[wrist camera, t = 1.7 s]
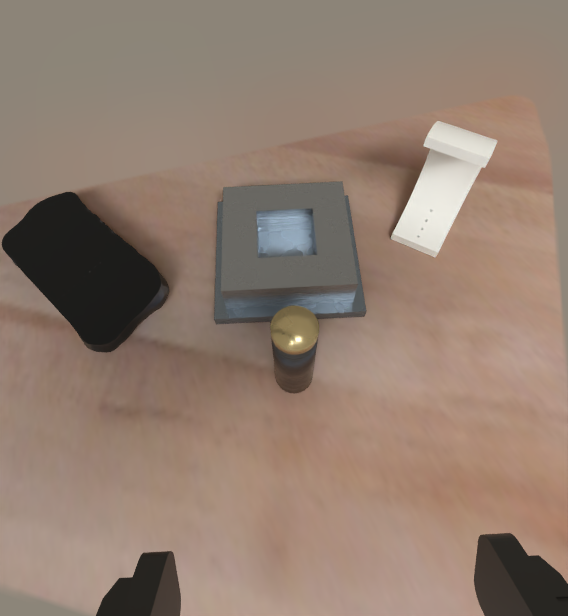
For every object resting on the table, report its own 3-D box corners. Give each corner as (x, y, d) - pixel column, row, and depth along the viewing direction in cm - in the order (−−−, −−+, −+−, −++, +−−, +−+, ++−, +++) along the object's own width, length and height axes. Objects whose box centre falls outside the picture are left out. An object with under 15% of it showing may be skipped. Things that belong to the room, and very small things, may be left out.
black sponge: (184, 302, 38) (174, 281, 34) (107, 367, 35) (88, 351, 32) (82, 208, 43) (65, 182, 40) (9, 258, 40) (-16, 235, 37)
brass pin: (276, 394, 33) (271, 351, 25) (274, 358, 35) (269, 306, 26) (313, 392, 33) (321, 348, 25) (310, 357, 35) (316, 304, 26)
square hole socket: (216, 324, 36) (208, 302, 33) (219, 208, 42) (212, 179, 39) (364, 316, 36) (372, 294, 33) (346, 202, 42) (351, 172, 39)
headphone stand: (390, 239, 40) (425, 136, 29) (413, 197, 42) (453, 88, 32) (435, 258, 39) (490, 158, 28) (456, 214, 41) (514, 107, 31)
